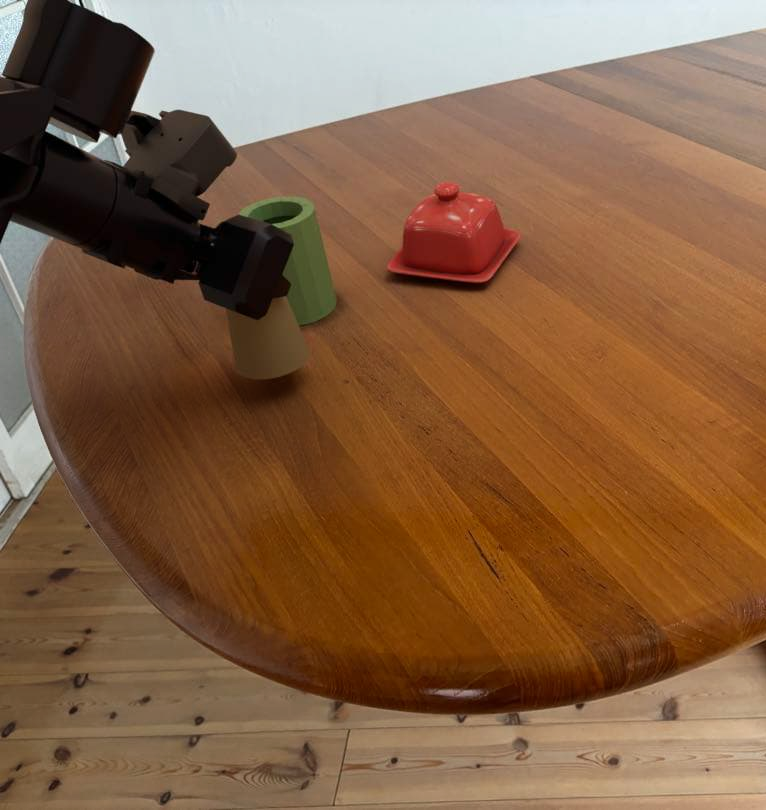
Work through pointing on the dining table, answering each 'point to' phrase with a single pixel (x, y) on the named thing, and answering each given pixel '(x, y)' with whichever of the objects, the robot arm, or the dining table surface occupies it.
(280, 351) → the tan peg doll
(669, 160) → the dining table surface
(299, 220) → the green cylindrical container
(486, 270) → the butter dish
